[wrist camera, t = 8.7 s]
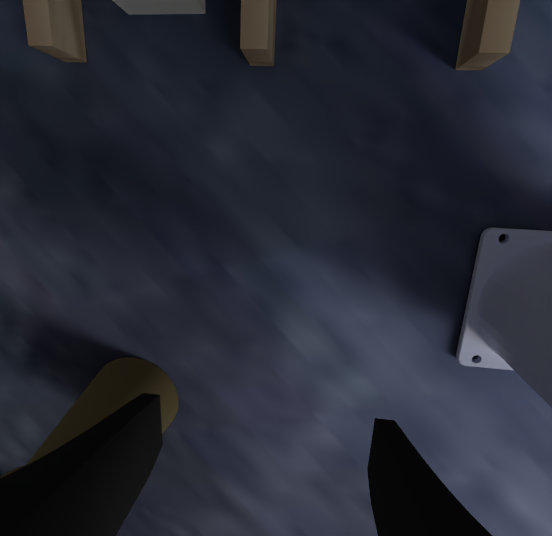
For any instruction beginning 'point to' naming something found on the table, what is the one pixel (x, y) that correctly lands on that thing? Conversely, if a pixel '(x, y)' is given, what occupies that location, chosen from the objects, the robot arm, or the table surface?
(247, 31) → the socket board
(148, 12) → the plug
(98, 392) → the cork
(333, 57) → the table surface
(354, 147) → the table surface
